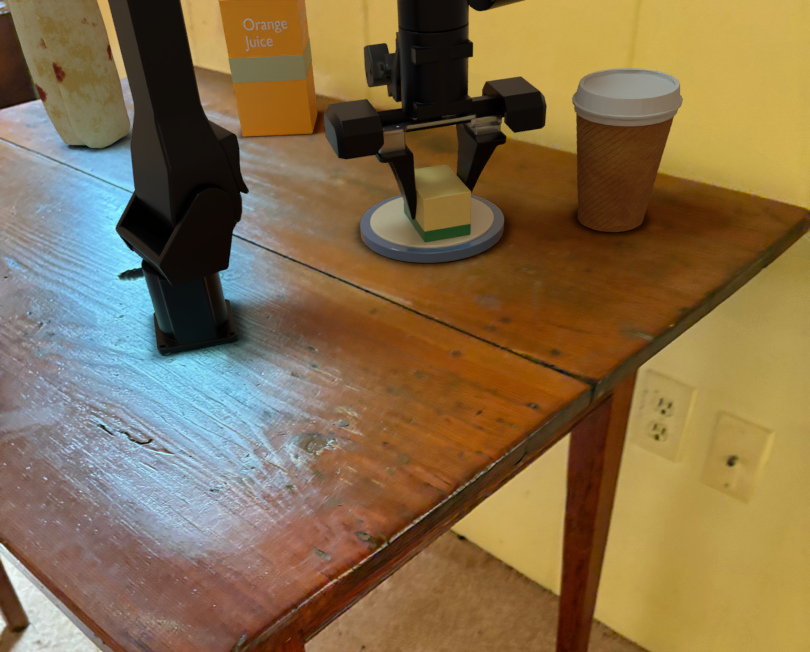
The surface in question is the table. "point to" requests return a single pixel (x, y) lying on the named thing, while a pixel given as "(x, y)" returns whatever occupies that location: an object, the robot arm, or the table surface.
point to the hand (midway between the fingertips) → (436, 213)
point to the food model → (73, 69)
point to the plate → (401, 241)
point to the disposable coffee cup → (621, 143)
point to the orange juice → (270, 65)
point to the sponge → (441, 204)
